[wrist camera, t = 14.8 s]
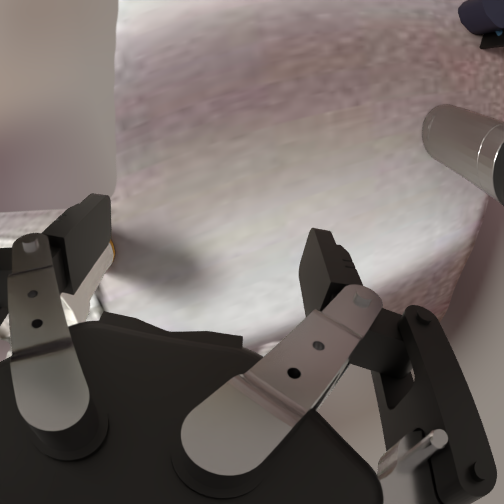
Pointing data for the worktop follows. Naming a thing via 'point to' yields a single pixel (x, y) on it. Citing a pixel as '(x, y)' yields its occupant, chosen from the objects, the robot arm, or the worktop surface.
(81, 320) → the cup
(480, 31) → the speaker
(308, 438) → the robot arm
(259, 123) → the worktop surface
